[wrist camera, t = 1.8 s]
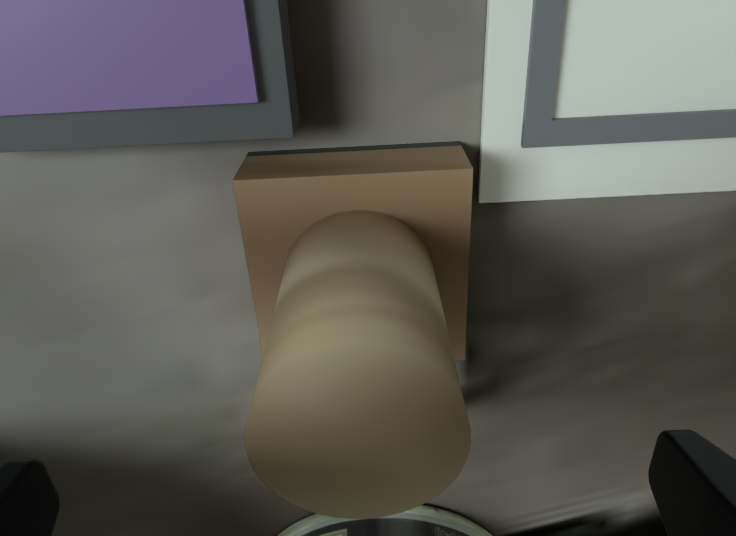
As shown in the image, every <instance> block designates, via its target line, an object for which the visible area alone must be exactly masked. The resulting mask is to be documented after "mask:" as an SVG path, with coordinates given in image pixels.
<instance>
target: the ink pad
mask: <svg viewBox="0 0 736 536" xmlns="http://www.w3.org/2000/svg"><path fill="white" fill-rule="evenodd" d="M299 121H300V117H299V108H298V98H297V89H296V80H295V71H294V61H293V52H292V43H291V34H290V24H289V15H288V6H287V0H0V153H2V152H21V151H41V150H60V149H80V148H99V147H119V146H139V145H158V144H178V143H197V142H217V141H236V140H256V139H275V138H293V137H294V135H295V132H296V129H297V127H298V124H299Z"/></svg>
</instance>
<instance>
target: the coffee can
mask: <svg viewBox="0 0 736 536" xmlns="http://www.w3.org/2000/svg"><path fill="white" fill-rule="evenodd" d="M277 536H493V535H491V534H490V533H489V532H488V531H486V530H485V529H484V528H482V527H481V526H479V525H478V524H476V523H474V522H472V521H471V520H469V519H467V518H465V517H462V516H460V515H458V514H456V513H453V512H450V511H447V510H444V509H440V508H436V507H431V506H426V505H420V506H418V507H416V508H413V509H410V510H408V511H405V512H402V513H398V514H395V515H391V516H385V517H380V518H370V519H345V518H335V517H330V516H324V515H320V514H317V513H315V514H313V515H310V516H308V517H306V518H303V519H301V520H299V521H297V522H296V523H294V524H293V525H291V526H289V527H288V528H286V529H285V530H283V531H282V532H281V533H279V534H278V535H277Z"/></svg>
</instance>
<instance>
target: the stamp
mask: <svg viewBox="0 0 736 536" xmlns="http://www.w3.org/2000/svg"><path fill="white" fill-rule="evenodd" d="M232 182H233V187H234V193H235V199H236V204H237V210H238V216H239V221H240V227H241V233H242V238H243V244H244V250H245V255H246V261H247V267H248V273H249V278H250V284H251V290H252V295H253V301H254V307H255V312H256V318H257V324H258V329H259V335H260V341H261V346H262V352H263V359H262V363H261V367H260V371H259V375H258V379H257V383H256V387H255V391H254V395H253V399H252V403H251V407H250V411H249V415H248V420H247V424H246V428H245V446H246V452H247V455H248V458H249V461H250V463H251V465H252V467H253V469H254V471H255V472H256V474H257V475H258V476H259V478H260V479H261V480H262V481H263V482H264V484H265V485H266V486H267V487H268V488H269V489H271V490H272V491H273V492H274V493H276V494H277V495H278V496H280V497H281V498H283V499H284V500H286V501H287V502H289V503H291V504H293V505H295V506H297V507H299V508H302V509H305V510H307V511H310V512H313V513H317V514H320V515H324V516H330V517H335V518H345V519H370V518H380V517H385V516H391V515H395V514H398V513H402V512H405V511H408V510H410V509H413V508H416V507H418V506H420V505H422V504H424V503H426V502H428V501H429V500H431V499H432V498H434V497H436V496H437V495H438V494H440V493H441V492H442V491H443V490H445V489H446V488H447V487H448V486H449V485H450V484H451V483H452V482H453V481H454V479H455V478H456V477H457V475H458V474H459V473H460V471H461V470H462V468H463V466H464V464H465V462H466V459H467V456H468V453H469V449H470V442H471V435H470V426H469V422H468V417H467V413H466V408H465V404H464V400H463V395H462V391H461V387H460V382H459V378H458V373H457V369H456V365H455V361H461V360H465V345H466V323H467V300H468V277H469V254H470V231H471V209H472V186H473V167H472V165H471V163H470V161H469V159H468V158H467V156H466V154H465V152H464V150H463V148H462V146H461V144H460V142H459V141H454V142H435V143H415V144H396V145H376V146H357V147H337V148H318V149H298V150H279V151H259V152H248V154H247V156H246V158H245V159H244V161H243V163H242V165H241V166H240V168H239V170H238V172H237V173H236V175H235V177H234V179H233V180H232Z"/></svg>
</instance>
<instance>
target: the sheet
mask: <svg viewBox="0 0 736 536" xmlns="http://www.w3.org/2000/svg"><path fill="white" fill-rule="evenodd" d="M716 191H736V0H488V2H487V22H486V42H485V62H484V82H483V103H482V123H481V143H480V163H479V183H478V202H479V203H492V202H513V201H533V200H553V199H573V198H594V197H614V196H634V195H655V194H675V193H695V192H716Z"/></svg>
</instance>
